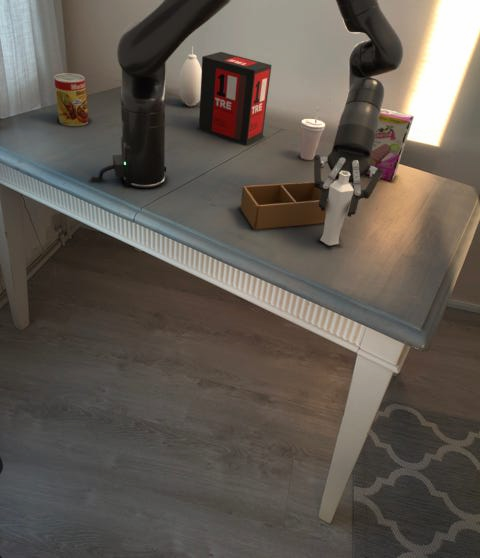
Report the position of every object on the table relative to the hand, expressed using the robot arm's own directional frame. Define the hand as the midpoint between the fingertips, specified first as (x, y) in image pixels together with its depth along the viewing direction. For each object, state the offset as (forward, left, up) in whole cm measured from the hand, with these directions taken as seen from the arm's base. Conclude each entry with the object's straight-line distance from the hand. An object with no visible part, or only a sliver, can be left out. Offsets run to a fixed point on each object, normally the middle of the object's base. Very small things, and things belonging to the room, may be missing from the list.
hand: (336, 212), depth 97 cm
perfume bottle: (+1, +2, -8) cm, 8 cm away
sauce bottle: (-7, +85, -8) cm, 86 cm away
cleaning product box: (-1, +61, -8) cm, 62 cm away
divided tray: (-4, +13, -8) cm, 16 cm away
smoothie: (+15, +42, -8) cm, 46 cm away
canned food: (-44, +73, -8) cm, 86 cm away
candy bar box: (+29, +30, -8) cm, 43 cm away
